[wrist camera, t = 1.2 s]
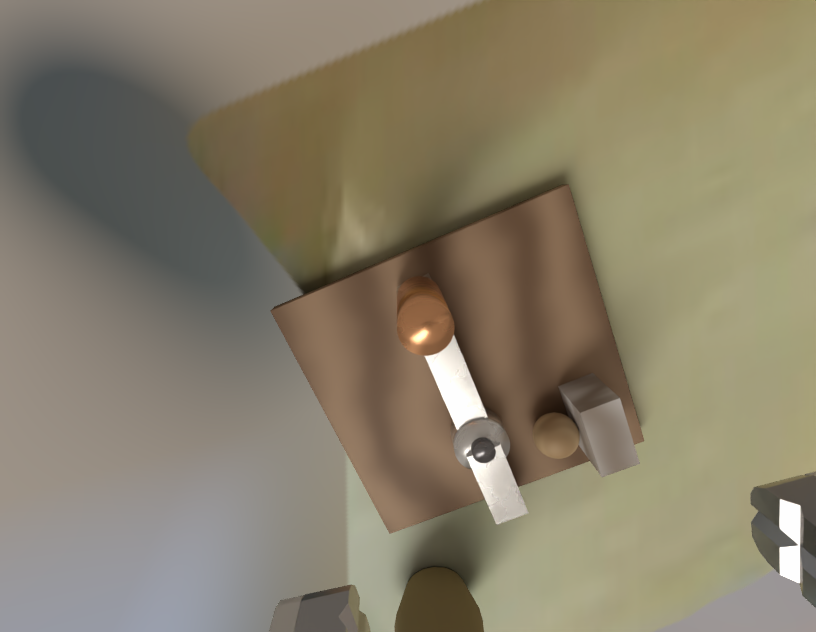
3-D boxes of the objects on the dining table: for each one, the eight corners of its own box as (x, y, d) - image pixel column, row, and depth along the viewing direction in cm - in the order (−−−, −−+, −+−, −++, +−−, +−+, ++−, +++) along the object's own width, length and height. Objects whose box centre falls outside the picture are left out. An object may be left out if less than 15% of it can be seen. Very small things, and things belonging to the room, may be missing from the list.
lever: (437, 261, 32) (452, 287, 23) (527, 487, 38) (567, 575, 29) (382, 284, 32) (377, 318, 23) (480, 504, 38) (505, 596, 29)
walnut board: (562, 184, 32) (596, 183, 26) (636, 433, 38) (676, 473, 33) (274, 306, 34) (251, 328, 28) (389, 523, 40) (389, 575, 35)
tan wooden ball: (562, 398, 35) (580, 420, 32) (574, 433, 36) (593, 458, 33) (521, 413, 36) (534, 437, 32) (534, 447, 37) (548, 474, 33)
